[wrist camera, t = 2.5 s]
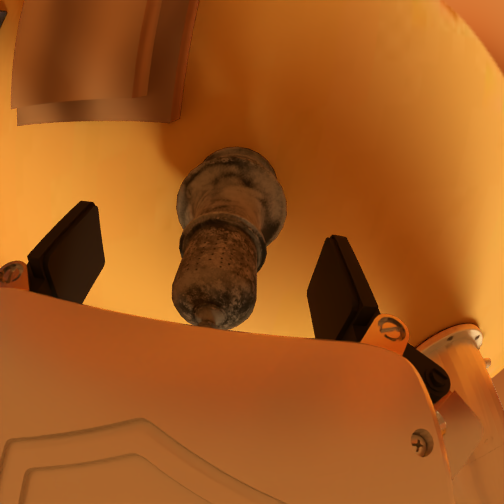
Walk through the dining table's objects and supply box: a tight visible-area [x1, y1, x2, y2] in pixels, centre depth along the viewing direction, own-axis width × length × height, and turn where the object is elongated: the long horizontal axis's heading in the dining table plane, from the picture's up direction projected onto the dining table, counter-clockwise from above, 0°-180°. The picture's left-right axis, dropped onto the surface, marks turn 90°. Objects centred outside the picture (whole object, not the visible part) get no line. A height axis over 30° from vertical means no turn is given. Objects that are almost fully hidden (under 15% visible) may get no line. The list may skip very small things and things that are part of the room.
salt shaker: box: [172, 147, 287, 330], centre depth 13 cm, size 6×6×12 cm
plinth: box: [11, 0, 199, 126], centre depth 10 cm, size 12×12×4 cm
